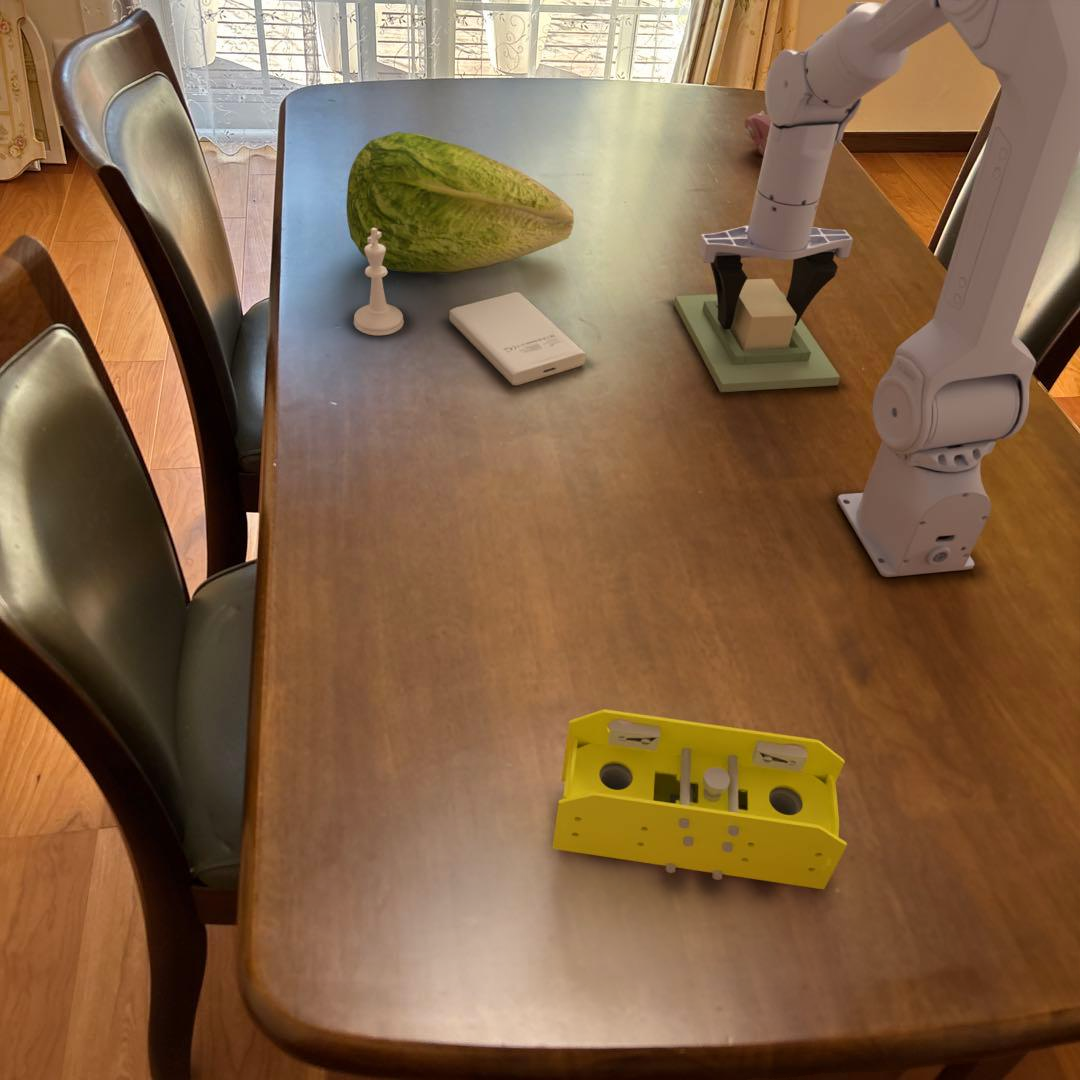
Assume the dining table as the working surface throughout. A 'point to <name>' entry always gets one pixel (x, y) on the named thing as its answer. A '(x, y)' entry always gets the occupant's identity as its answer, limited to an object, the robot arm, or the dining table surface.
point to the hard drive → (516, 338)
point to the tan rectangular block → (762, 317)
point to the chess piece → (377, 295)
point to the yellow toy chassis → (700, 798)
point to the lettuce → (448, 206)
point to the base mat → (752, 353)
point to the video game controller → (758, 130)
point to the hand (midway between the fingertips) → (757, 322)
